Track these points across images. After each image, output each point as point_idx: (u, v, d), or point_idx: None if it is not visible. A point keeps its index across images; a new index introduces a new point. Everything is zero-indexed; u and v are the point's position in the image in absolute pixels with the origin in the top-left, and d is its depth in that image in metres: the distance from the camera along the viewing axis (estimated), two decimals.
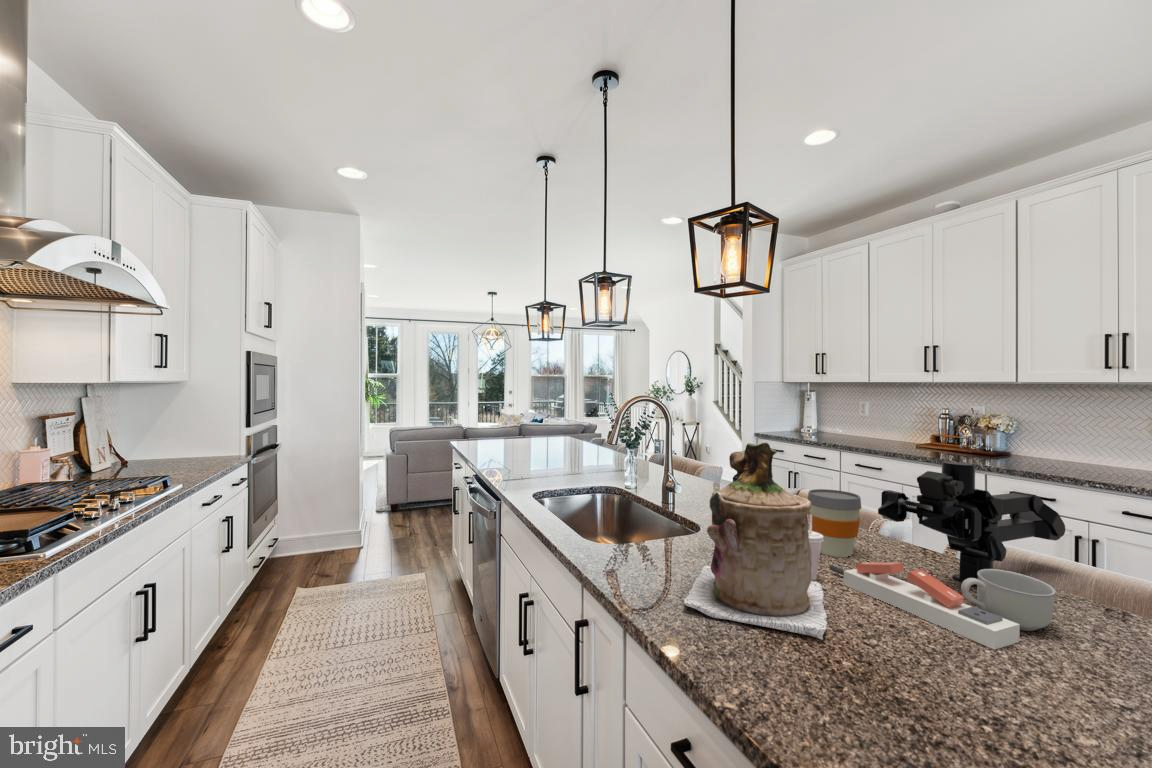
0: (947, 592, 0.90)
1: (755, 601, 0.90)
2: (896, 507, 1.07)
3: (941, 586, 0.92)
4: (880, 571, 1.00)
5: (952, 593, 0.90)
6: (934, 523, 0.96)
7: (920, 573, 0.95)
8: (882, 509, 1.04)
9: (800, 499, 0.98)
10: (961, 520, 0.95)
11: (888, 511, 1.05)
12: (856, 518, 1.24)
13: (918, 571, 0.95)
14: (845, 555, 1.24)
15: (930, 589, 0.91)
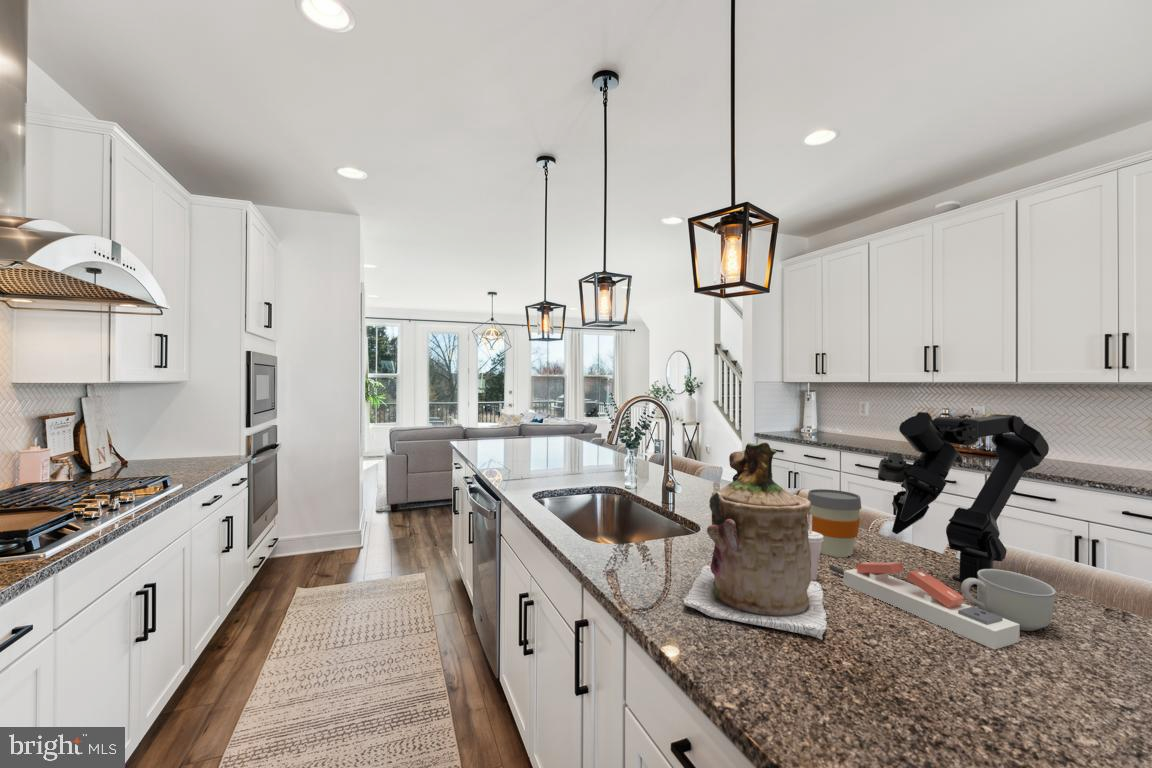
0: (947, 592, 0.90)
1: (755, 601, 0.90)
2: None
3: (941, 586, 0.92)
4: (880, 571, 1.00)
5: (952, 593, 0.90)
6: (908, 510, 0.97)
7: (920, 573, 0.95)
8: (894, 528, 1.04)
9: (800, 499, 0.98)
10: (917, 486, 0.96)
11: (902, 521, 1.05)
12: (856, 518, 1.24)
13: (918, 571, 0.95)
14: (845, 555, 1.24)
15: (930, 589, 0.91)
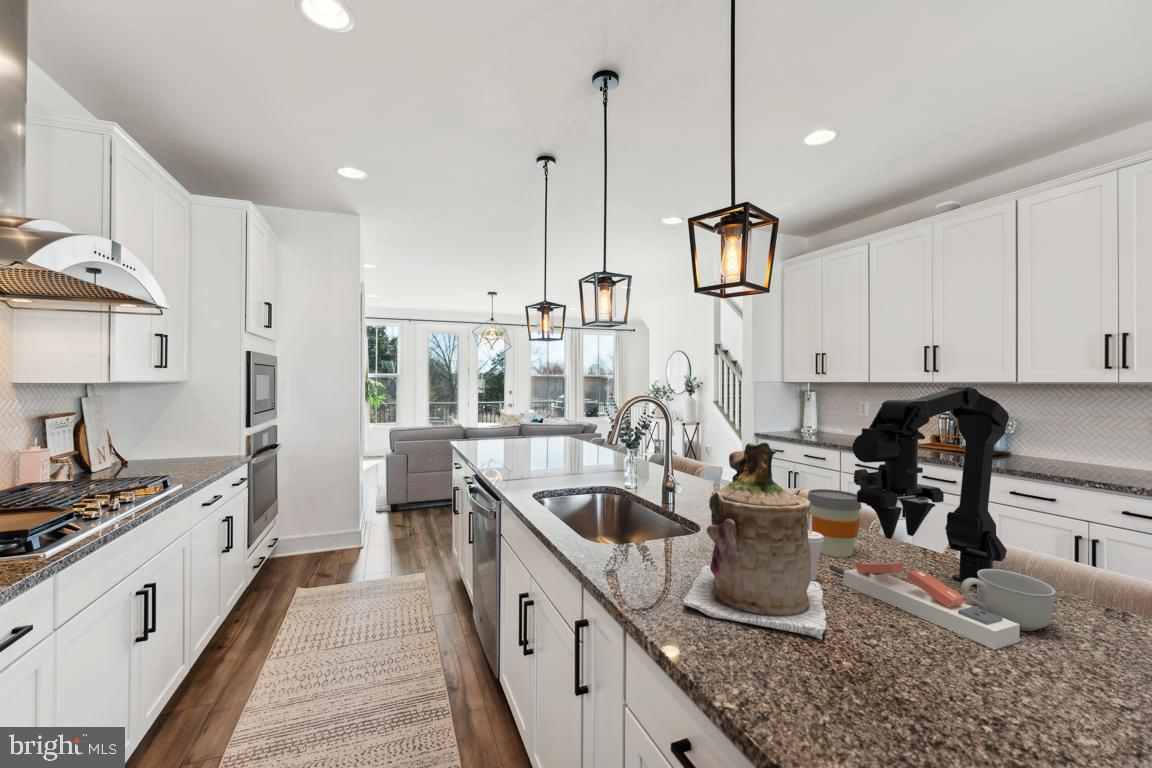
0: (947, 592, 0.90)
1: (755, 600, 0.90)
2: (911, 505, 1.03)
3: (941, 586, 0.92)
4: (880, 571, 1.00)
5: (952, 593, 0.90)
6: (886, 529, 1.00)
7: (920, 573, 0.95)
8: (907, 530, 1.03)
9: (799, 499, 0.98)
10: (875, 507, 0.99)
11: (911, 521, 1.02)
12: (856, 518, 1.24)
13: (918, 571, 0.95)
14: (845, 555, 1.24)
15: (930, 589, 0.91)
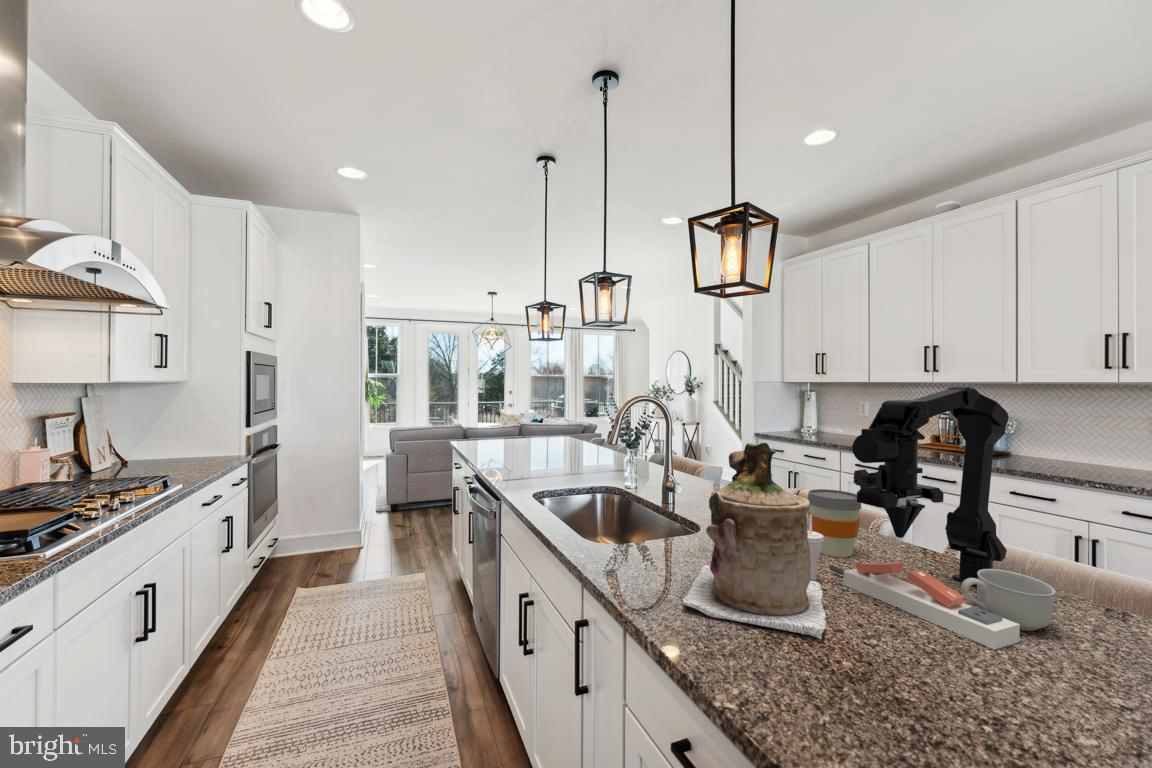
0: (947, 592, 0.90)
1: (755, 600, 0.90)
2: None
3: (941, 586, 0.92)
4: (880, 571, 1.00)
5: (952, 593, 0.90)
6: (896, 528, 1.01)
7: (920, 573, 0.95)
8: None
9: (799, 499, 0.98)
10: None
11: None
12: (856, 518, 1.24)
13: (918, 571, 0.95)
14: (845, 555, 1.24)
15: (930, 589, 0.91)
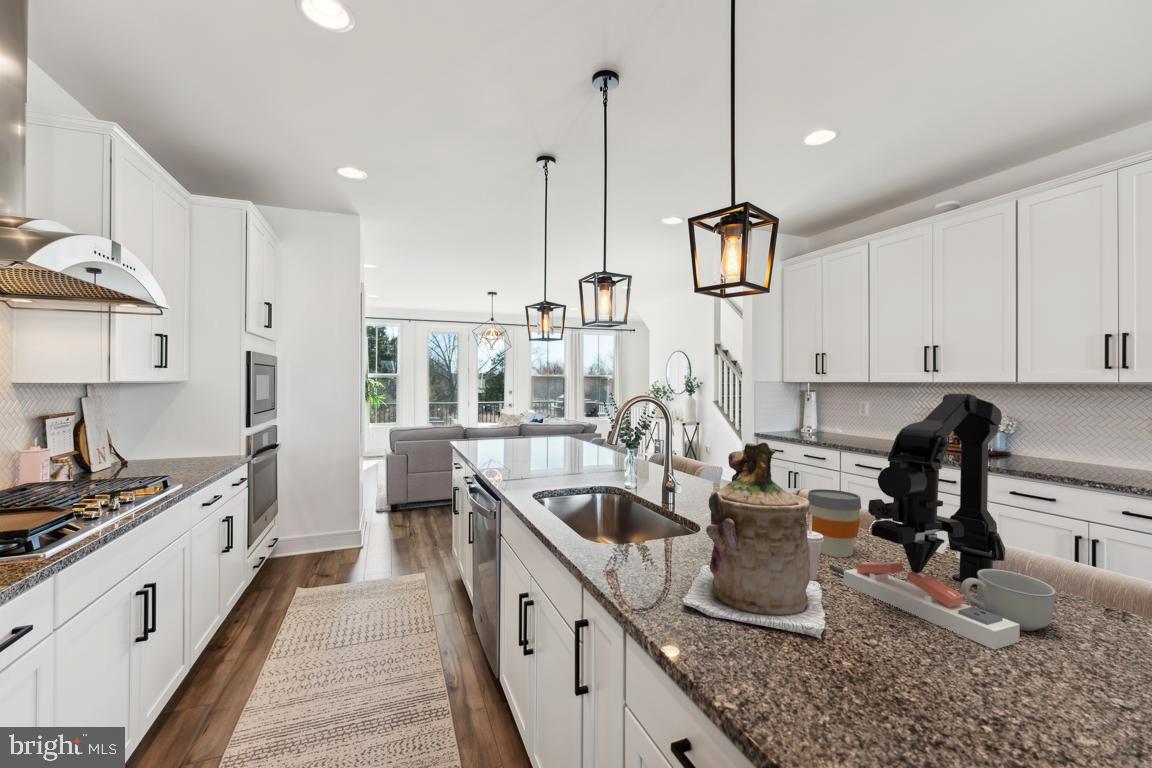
0: (947, 591, 0.90)
1: (754, 600, 0.90)
2: None
3: (941, 586, 0.92)
4: (880, 571, 1.00)
5: (952, 592, 0.90)
6: (913, 563, 0.95)
7: (920, 573, 0.95)
8: None
9: (799, 499, 0.98)
10: None
11: None
12: (856, 518, 1.24)
13: None
14: (845, 555, 1.24)
15: (930, 589, 0.91)
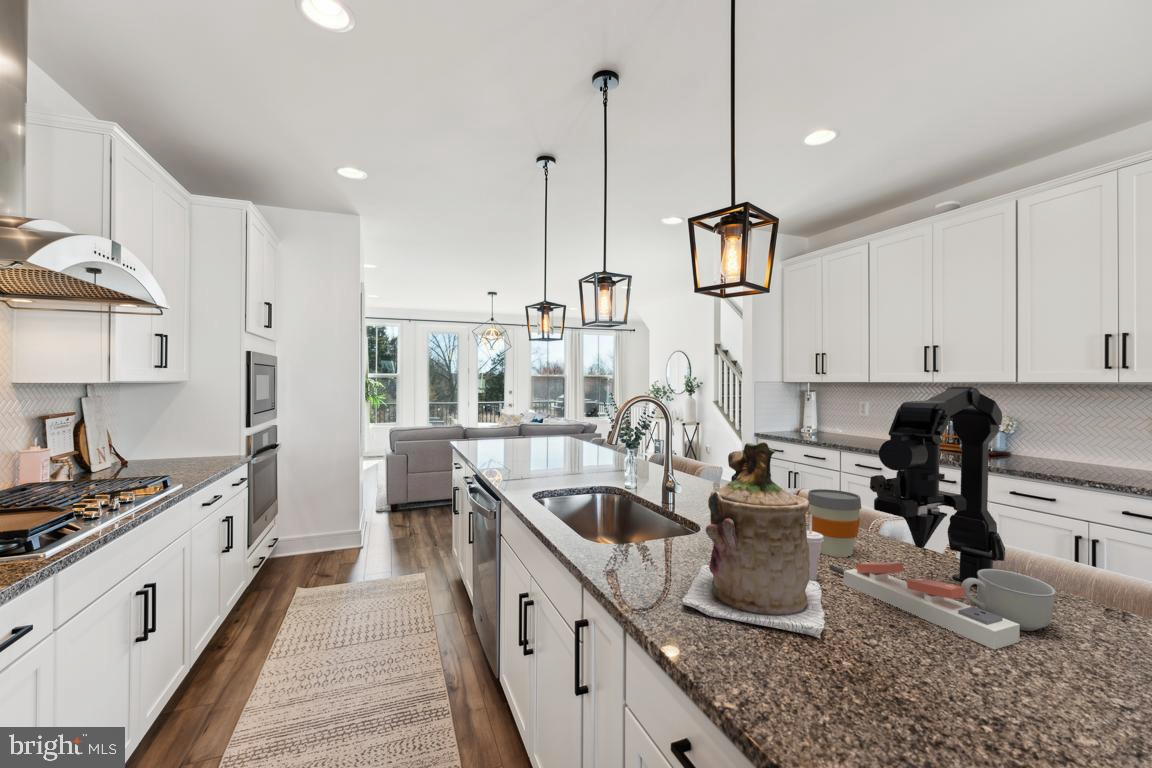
0: (945, 586, 0.90)
1: (754, 600, 0.90)
2: None
3: (939, 584, 0.92)
4: (880, 571, 1.00)
5: (950, 586, 0.90)
6: (917, 537, 0.95)
7: (917, 579, 0.95)
8: None
9: (798, 499, 0.98)
10: None
11: None
12: (856, 518, 1.24)
13: (915, 578, 0.96)
14: (845, 555, 1.24)
15: (930, 588, 0.91)
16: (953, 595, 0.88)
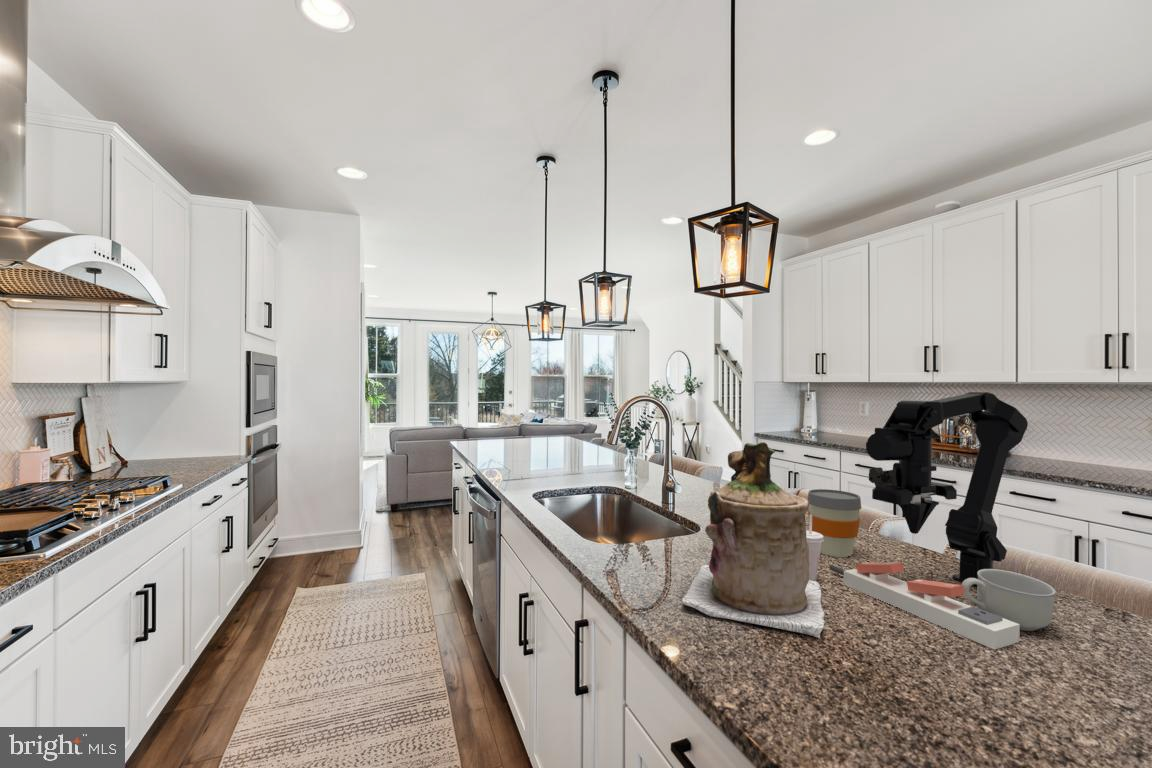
0: (945, 585, 0.90)
1: (753, 600, 0.90)
2: None
3: (939, 583, 0.92)
4: (880, 571, 1.00)
5: (950, 584, 0.90)
6: (911, 524, 1.04)
7: (917, 580, 0.95)
8: None
9: (798, 499, 0.98)
10: None
11: None
12: (856, 518, 1.24)
13: (915, 580, 0.96)
14: (845, 555, 1.24)
15: (930, 588, 0.91)
16: (953, 593, 0.88)
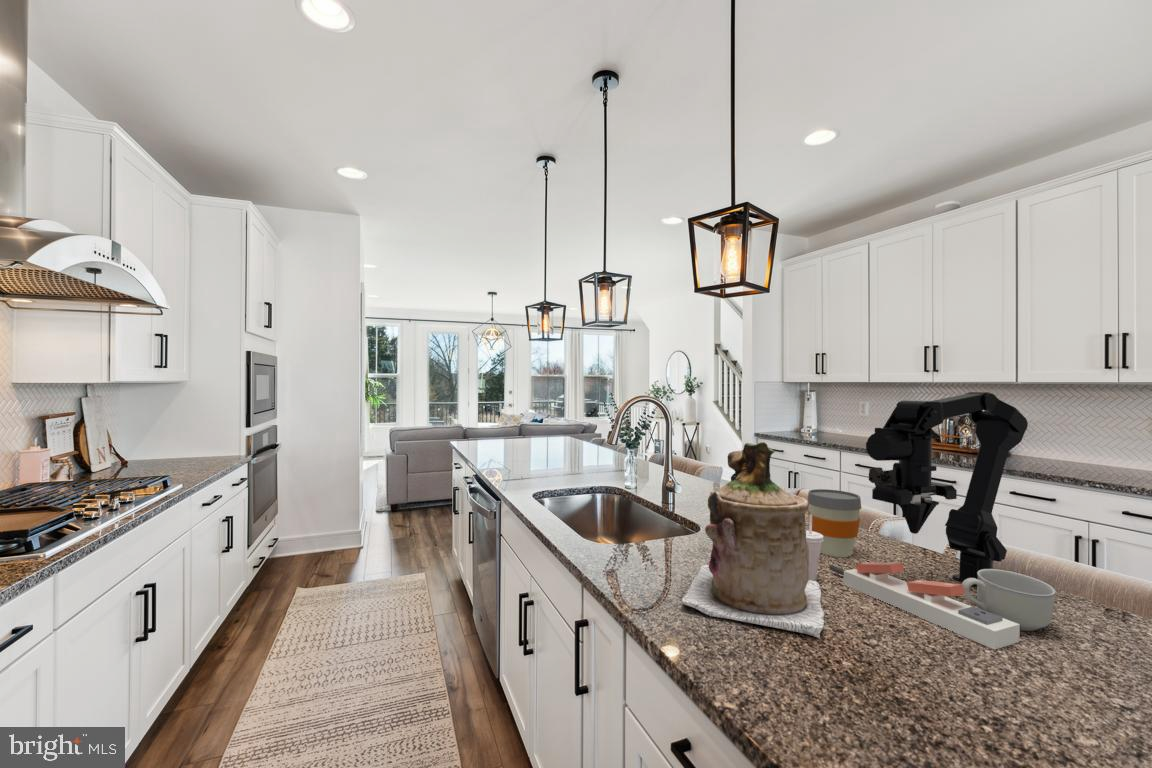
0: (945, 584, 0.90)
1: (753, 599, 0.90)
2: None
3: (938, 583, 0.92)
4: (880, 571, 1.00)
5: (950, 584, 0.90)
6: (911, 524, 1.04)
7: (917, 581, 0.95)
8: None
9: (798, 499, 0.98)
10: None
11: None
12: (856, 518, 1.24)
13: (915, 581, 0.96)
14: (845, 555, 1.24)
15: (929, 588, 0.91)
16: (953, 592, 0.88)
